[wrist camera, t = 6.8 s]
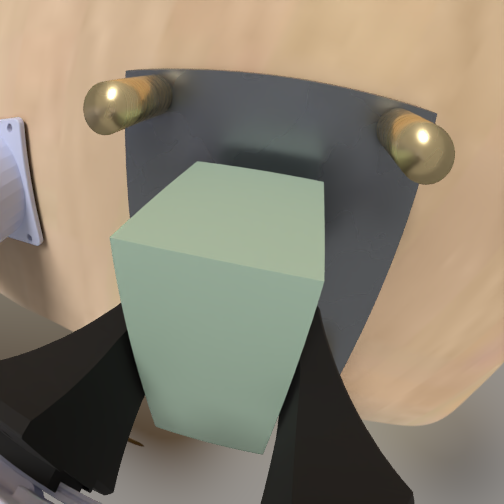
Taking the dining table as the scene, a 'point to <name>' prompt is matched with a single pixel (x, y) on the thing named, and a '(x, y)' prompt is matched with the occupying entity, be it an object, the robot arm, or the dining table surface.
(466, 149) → the dining table surface
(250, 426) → the board block
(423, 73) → the dining table surface
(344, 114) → the plate
